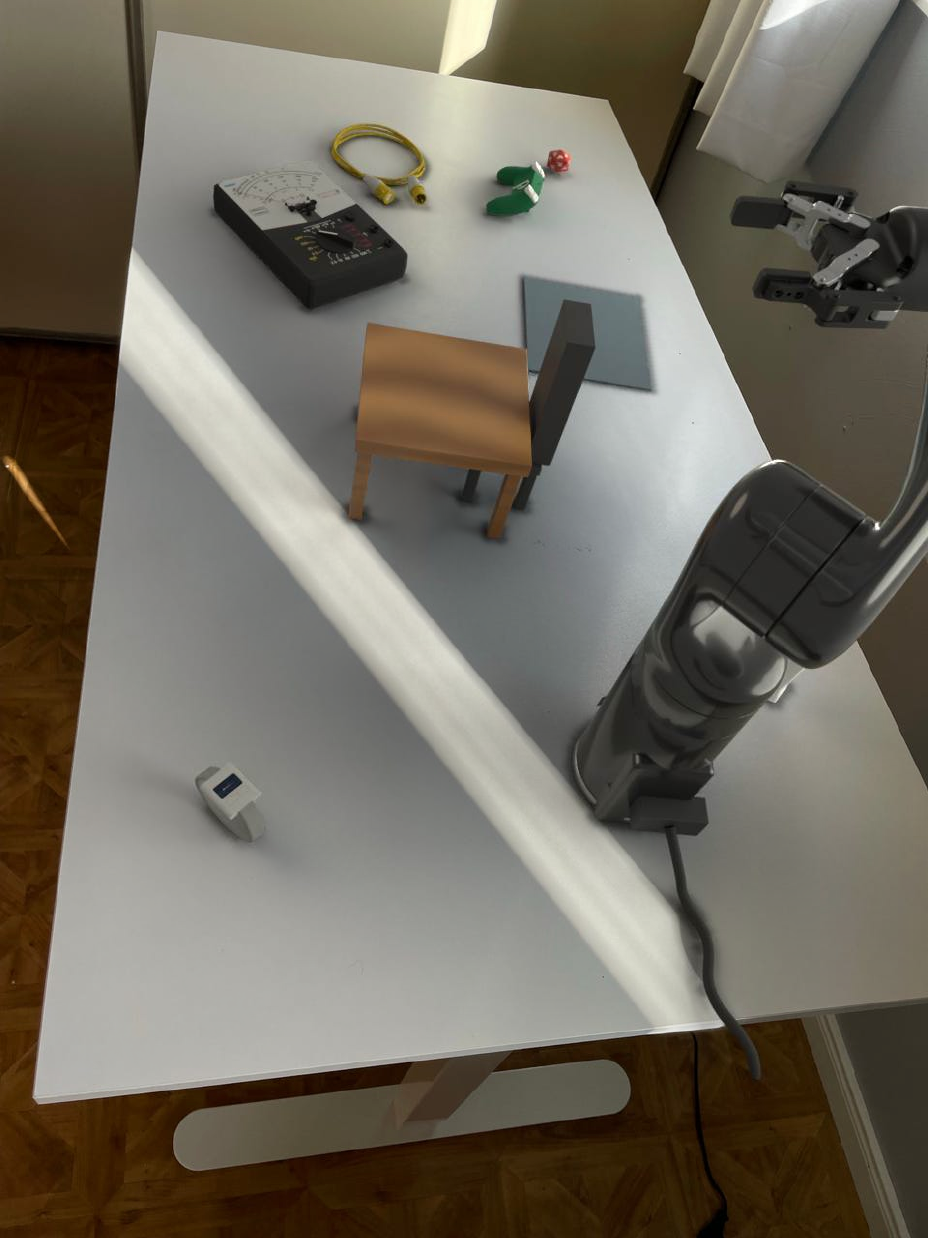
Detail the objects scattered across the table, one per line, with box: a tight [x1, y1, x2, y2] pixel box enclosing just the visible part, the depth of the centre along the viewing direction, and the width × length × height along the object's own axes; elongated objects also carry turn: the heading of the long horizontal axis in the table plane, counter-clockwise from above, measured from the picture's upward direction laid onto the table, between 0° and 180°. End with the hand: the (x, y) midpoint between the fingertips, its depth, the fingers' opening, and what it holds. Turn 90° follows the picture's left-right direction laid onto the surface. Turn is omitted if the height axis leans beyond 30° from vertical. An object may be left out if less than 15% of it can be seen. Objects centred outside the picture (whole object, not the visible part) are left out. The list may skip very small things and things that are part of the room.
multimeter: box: [212, 159, 408, 309], centre depth 110 cm, size 13×19×5 cm
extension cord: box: [331, 122, 427, 206], centre depth 123 cm, size 12×16×2 cm
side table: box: [347, 322, 532, 539], centre depth 92 cm, size 15×15×10 cm
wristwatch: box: [194, 762, 266, 843], centre depth 71 cm, size 6×3×5 cm, turn 48°
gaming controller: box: [485, 161, 545, 216], centre depth 124 cm, size 9×4×6 cm
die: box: [546, 148, 572, 174], centre depth 130 cm, size 3×3×3 cm
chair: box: [461, 299, 596, 511], centre depth 89 cm, size 7×6×20 cm
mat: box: [523, 276, 653, 391], centre depth 113 cm, size 16×14×1 cm
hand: (744, 245), depth 75 cm, fingers open, 8 cm apart
